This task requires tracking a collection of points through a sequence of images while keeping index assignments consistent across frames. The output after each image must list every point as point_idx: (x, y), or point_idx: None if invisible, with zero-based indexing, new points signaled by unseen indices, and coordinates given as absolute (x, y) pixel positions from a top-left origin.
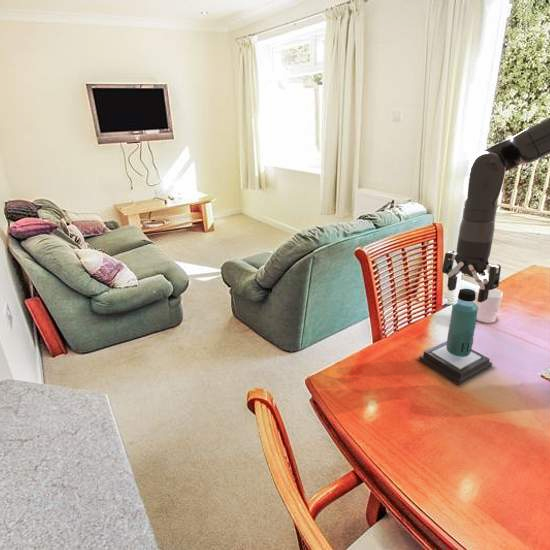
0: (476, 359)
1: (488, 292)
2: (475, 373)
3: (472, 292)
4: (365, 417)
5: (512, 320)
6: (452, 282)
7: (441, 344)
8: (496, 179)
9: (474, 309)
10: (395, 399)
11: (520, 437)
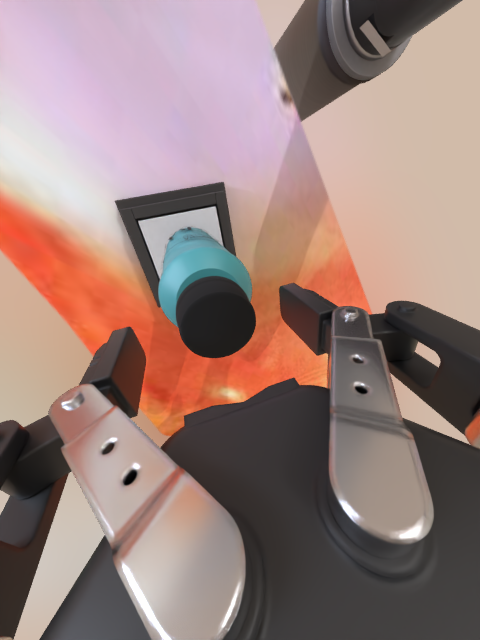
0: (218, 225)
1: (333, 304)
2: (233, 242)
3: (242, 317)
4: (240, 401)
5: None
6: (136, 384)
7: (141, 255)
8: None
9: (249, 290)
10: (229, 369)
11: (333, 277)
